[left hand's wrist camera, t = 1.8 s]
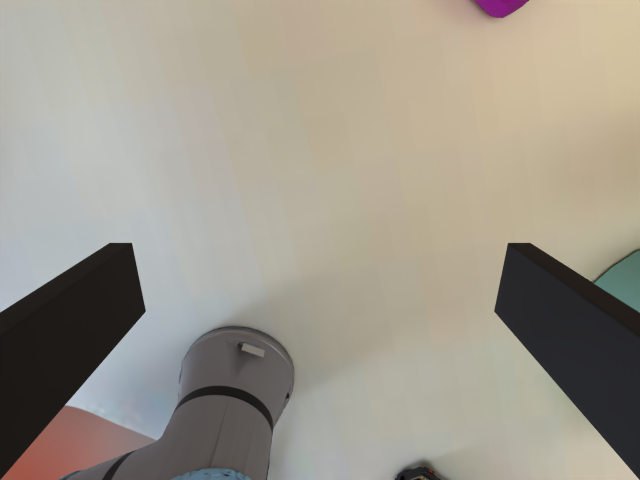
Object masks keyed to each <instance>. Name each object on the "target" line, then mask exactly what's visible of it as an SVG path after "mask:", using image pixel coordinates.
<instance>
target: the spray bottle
mask: <svg viewBox="0 0 640 480" xmlns="http://www.w3.org/2000/svg"><path fill="white" fill-rule="evenodd" d="M475 1H476V2H477V3H478V4H479V5H480V6H481V7H482V8H483V9H484V10H485V11H486V12H487V13H488V14H489V15H490V16H493V17H496V18H503V17H505V16H507V15H509V14H511V13H513V12H514V11H516V10H517V9H519V8H520V7H522V6H523V5H524V4H525V3H526V2H528V1H529V0H475Z"/></svg>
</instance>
